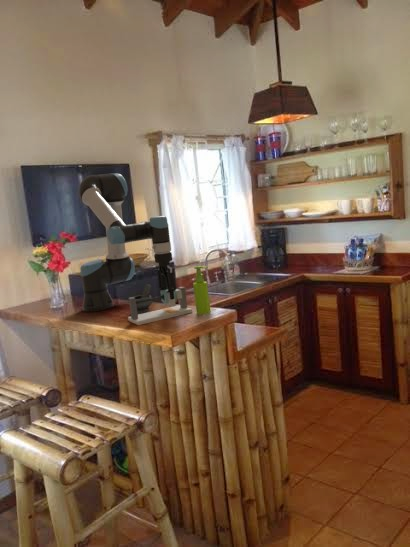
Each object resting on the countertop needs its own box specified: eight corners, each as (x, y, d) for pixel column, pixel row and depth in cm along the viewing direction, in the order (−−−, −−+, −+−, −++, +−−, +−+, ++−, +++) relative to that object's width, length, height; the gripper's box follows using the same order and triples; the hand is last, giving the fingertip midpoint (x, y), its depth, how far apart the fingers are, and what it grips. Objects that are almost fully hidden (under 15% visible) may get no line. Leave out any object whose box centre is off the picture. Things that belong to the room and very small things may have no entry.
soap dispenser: (210, 314, 208) (204, 267, 205) (194, 315, 211) (188, 268, 208) (214, 310, 214) (209, 264, 211) (199, 311, 216) (194, 265, 213)
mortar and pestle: (139, 315, 222) (135, 289, 220) (127, 313, 229) (124, 287, 227) (159, 309, 229) (156, 283, 227) (148, 307, 236) (144, 282, 235)
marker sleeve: (161, 301, 218) (160, 290, 218) (172, 299, 221) (170, 288, 220) (166, 303, 214) (164, 292, 213) (176, 301, 216) (175, 289, 215)
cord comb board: (128, 320, 216) (124, 296, 214) (180, 308, 227) (177, 285, 225) (138, 325, 205) (134, 300, 203) (192, 312, 216) (189, 288, 214)
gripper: (146, 253, 220) (153, 304, 224) (162, 255, 204) (170, 310, 208) (162, 250, 223) (169, 301, 227) (179, 252, 208) (186, 306, 211)
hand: (169, 305), depth 217 cm, fingers closed on marker sleeve, 5 cm apart
